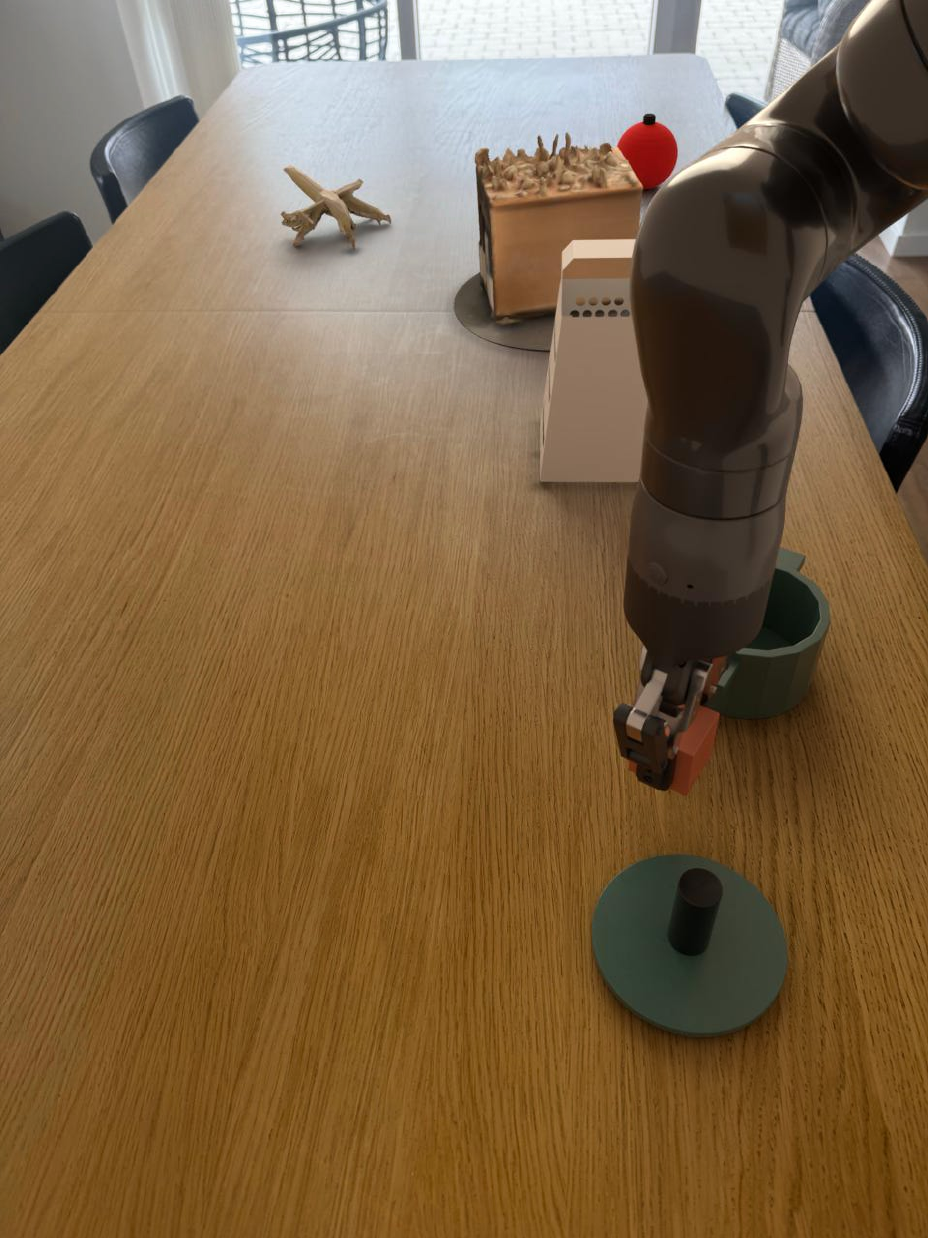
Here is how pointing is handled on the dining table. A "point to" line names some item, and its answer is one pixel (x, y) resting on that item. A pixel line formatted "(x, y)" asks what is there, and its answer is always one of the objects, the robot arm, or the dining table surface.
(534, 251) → the planter
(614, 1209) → the dining table surface
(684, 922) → the lid
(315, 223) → the branching beige root
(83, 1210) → the dining table surface
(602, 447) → the grater
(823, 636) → the pot
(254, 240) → the dining table surface
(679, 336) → the robot arm
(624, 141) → the ornament
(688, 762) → the block
